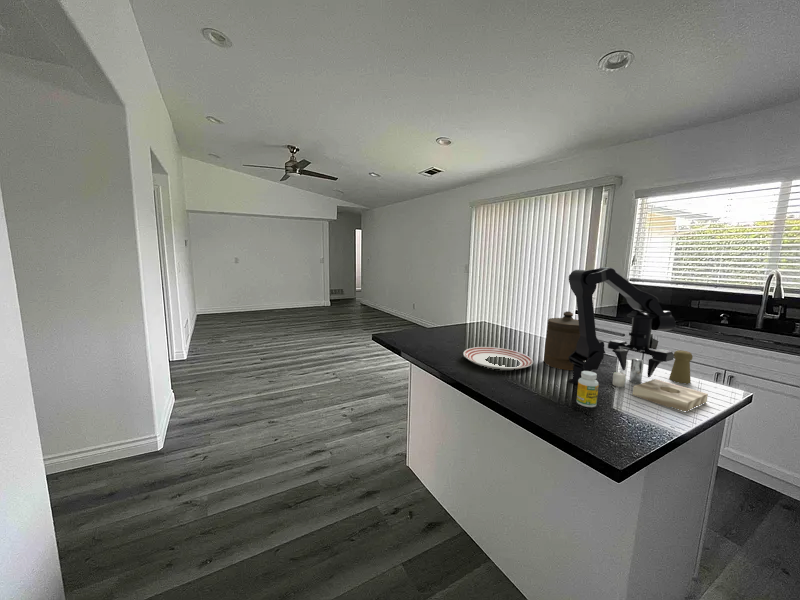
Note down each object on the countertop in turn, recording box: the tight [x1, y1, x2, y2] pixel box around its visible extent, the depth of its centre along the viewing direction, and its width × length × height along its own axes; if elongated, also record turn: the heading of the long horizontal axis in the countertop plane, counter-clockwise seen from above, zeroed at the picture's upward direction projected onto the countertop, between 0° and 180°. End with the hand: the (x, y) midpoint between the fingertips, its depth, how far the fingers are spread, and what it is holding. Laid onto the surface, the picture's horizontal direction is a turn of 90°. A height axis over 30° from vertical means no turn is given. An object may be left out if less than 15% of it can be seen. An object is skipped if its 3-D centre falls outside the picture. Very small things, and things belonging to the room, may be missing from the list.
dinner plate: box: [462, 346, 534, 371], centre depth 140 cm, size 28×27×3 cm
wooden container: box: [543, 311, 585, 371], centre depth 138 cm, size 15×15×22 cm
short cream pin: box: [611, 371, 626, 388], centre depth 118 cm, size 4×4×4 cm
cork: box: [668, 349, 693, 385], centre depth 123 cm, size 6×6×11 cm
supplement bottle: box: [576, 371, 599, 408], centre depth 101 cm, size 5×5×10 cm
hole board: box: [632, 378, 709, 412], centre depth 107 cm, size 14×14×3 cm
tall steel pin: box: [629, 358, 645, 385], centre depth 121 cm, size 4×4×8 cm
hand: (636, 373), depth 121 cm, fingers open, 8 cm apart
